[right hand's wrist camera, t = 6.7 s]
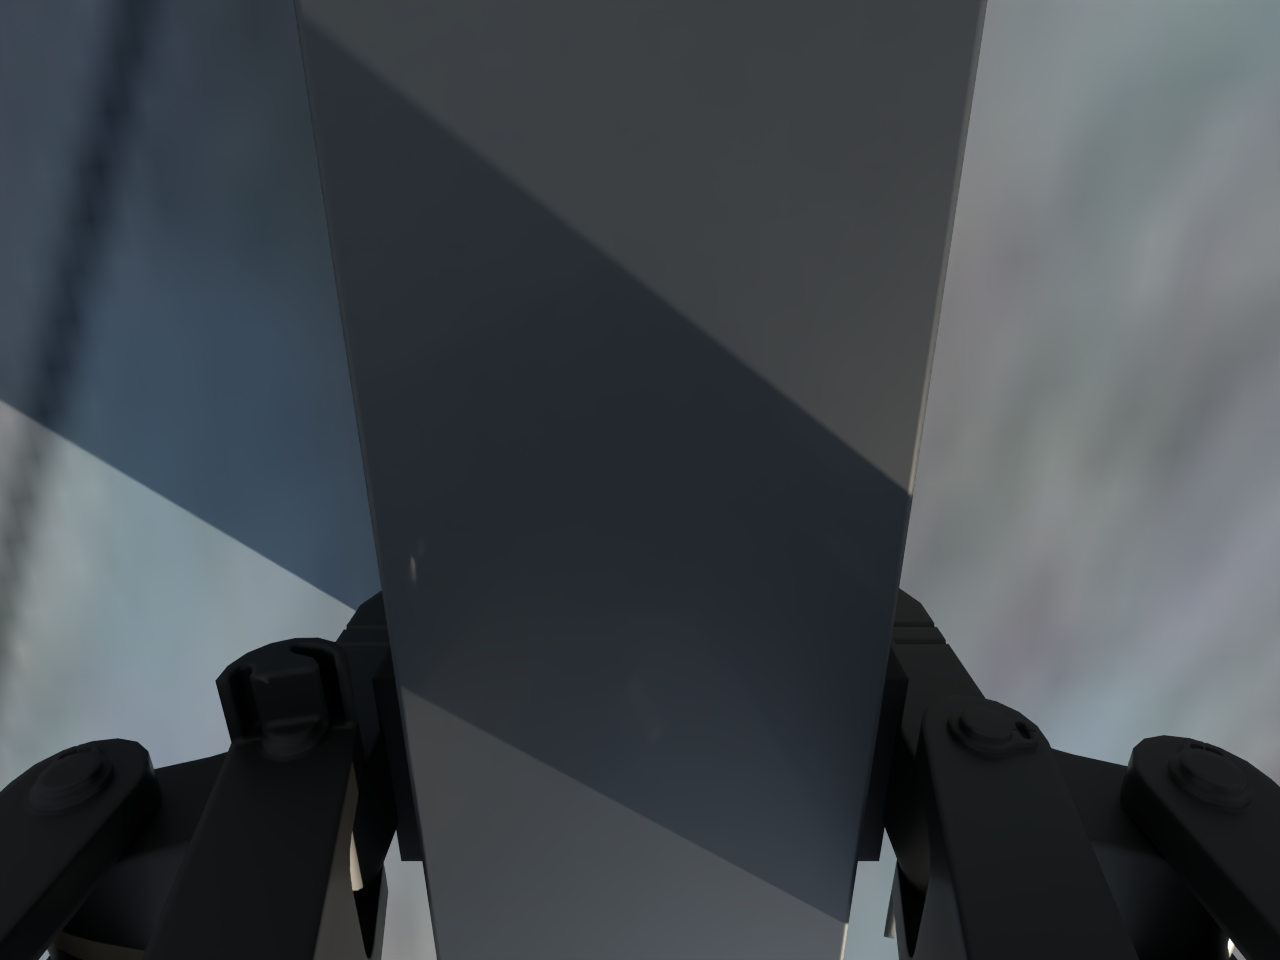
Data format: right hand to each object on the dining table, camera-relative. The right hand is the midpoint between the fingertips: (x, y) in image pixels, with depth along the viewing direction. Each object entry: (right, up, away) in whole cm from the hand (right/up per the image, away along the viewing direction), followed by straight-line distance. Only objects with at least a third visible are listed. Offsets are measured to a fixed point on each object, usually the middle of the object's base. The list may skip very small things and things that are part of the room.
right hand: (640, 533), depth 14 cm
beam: (0, +12, -5) cm, 13 cm away
